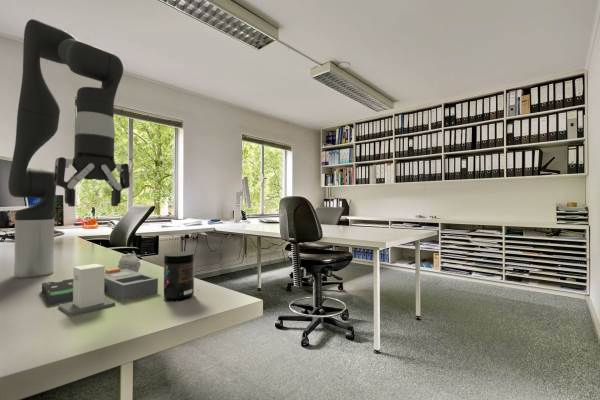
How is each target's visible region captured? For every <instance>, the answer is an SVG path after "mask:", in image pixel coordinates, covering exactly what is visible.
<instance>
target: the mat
mask: <svg viewBox="0 0 600 400" xmlns="http://www.w3.org/2000/svg"><path fill="white" fill-rule="evenodd" d="M114 306H116V302H115V301H113V300H111V299H109V298H106V297H105V296H104V303H101V304H97V305H92V306H88V307H84V308H79V307H77V306H76V305H74V304H73V301H71V302H65V303H60V304H58V307H57V308H58V309H59V310H61V311H62V312H64V313H65V314H66V315H68V316H70V317H73V316H77V315H83V314H86V313H90V312H95V311H98V310H102V309H105V308H106V309H107V308H110V307H114Z"/></svg>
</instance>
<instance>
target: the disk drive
mask: <svg viewBox="0 0 600 400" xmlns="http://www.w3.org/2000/svg"><path fill="white" fill-rule="evenodd" d="M41 293H42V295H43V296H44V299H45V300H46V303H47V304H48V306H54V305H57V304H58V305H60V304H65V303H70V302H73V278H69V279H63V280H62V281H48V282H42V283H41Z"/></svg>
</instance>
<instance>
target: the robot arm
mask: <svg viewBox="0 0 600 400" xmlns="http://www.w3.org/2000/svg"><path fill="white" fill-rule="evenodd" d="M22 46H23V48H22V49H23V51H22V53H23V56H22V77H21V78H22V79H21V84H20V85H21V86H20V93H19V98H18V99H19V100H18V107H17V116H16V130H15V141H14V148H13V149H14V150H13V155H12V160H11V164H10V169H9V170H10V171H9V176H8V181H7V182H8V188H7V189H8V192H9V194H10V196H12V197H14V198H30V199H32V198H33V199H36V198H38V199H39V201H38V202H37V203H36V204H34V205H31V206H29V207H26V208H22V209H18V210H16V211H15V213H14V258H13V259H14V263H13V264H14V265H13V266H14V269H13V271H14V272H13V277H14V278H33V277H34V278H35V277H40V276H47V275H50V274H53V273H54V269H55V268H54V265H55V264H54V261H55V211H56V210H55V209H56V193H57V192H56V190H57V187H61V188H63V190H64V203H65V204H66V205H68V206H67V207H73V208H74V207H75V206H76V189H75V187H76V186H77V185H78V184H79V183H80V182H81V181H82V180H83V179H84V180H87V181H88V180H95V181H105V183H106V184H108V186H109V187H110V188H111V189H112V190H111V193H110V196H111V198H110V201H111V202H110V205H111V207H118V206H119V204H121V199H122V198H121V194H122V193H121V192H122V191H123V190H124V189H129V188H130V186H131V182H130V166H129V164H128V163H115V137H116V132H115V121H114V112H115V110H114V109H115V98H116V94H117V92H118V88H119V86H120V85H119V84H120V83H121V80H122V77H123V74H124V66H123V62H122V60H121V58H120V57H119V56H118V55H116V54H115V53H112V52H111V51H107V50H104V49H102V48H99V47H97V46H94V45H91V44H89V43H86V42H83V41H81V40H79V39H77V38H76V37H75V36H73V35H72V34H71V33H69V32H68V31H65V30H64V29H61V28H58V27H57V26H53V25H50V24H48V23H45V22H42V21H40V20H38V19H31V18H30V19H29V20H27V22H26V24H25V26H24V32H23V45H22ZM41 59H44V60H46V61H51V62H54V63H55V64H60V65H66V66H67V67H68V68H69V70H70V71H71V72H72V73H74V74H76V75H79V76H82V77H85V78H88V79H91V80H95V81H98V82H101V86H100V87H97V86H96V87H95V86H83V87H80V88H78V89H77V92H76V115H75V120H74V150H73V151H74V153H73V154H74V155H73V158H72V159H71V158H65V157H63V156H60V157H58V158H57V157H56V159H55V162H54V163H55V164H54V170H52V169H45V168H36V167H35V168H33V167H29V164H30V162H31V159H32V157H33V156H34V155H35V154H36V153H37V151H38V150H40V149H41V148H42V147H43V146H45V144H46V143H48V142H49V141H50V139H52V138H53V137H54V136H55V134H56V133H57V132H58V130H59V129H58V128H59V122H60V114H61V109H60V106H59V103H58V101H57V99H56V97H55V96H54V94H53V92H52V91H51V89H50V87H49V85H48V84H47V82H46V80H45V78H44V75H43V71H42V67H41ZM71 165H72V167H73V168H74V170H75V171H76V172H75V173H74V174H73V175H72V176H71V177H70V178H69V180H67V181H65V176H66V174H65V173H66V169H68V168H70V166H71ZM115 169H116V170H117V172H118V173H119V181H118V179H117V178H116V177H115V175H114V174H113V172H114V170H115Z"/></svg>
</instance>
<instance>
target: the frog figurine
mask: <svg viewBox="0 0 600 400" xmlns="http://www.w3.org/2000/svg"><path fill="white" fill-rule="evenodd" d="M141 265H142V264H141V262H140V259H139V258H138V256H136V254H135V253H126V254H121V257H120V259H119V261H118V265H117V268H120V269H121V270H122V269H128V270H132V271H135V272H138V273H139V270H140V269H141V268H140V267H141Z"/></svg>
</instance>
